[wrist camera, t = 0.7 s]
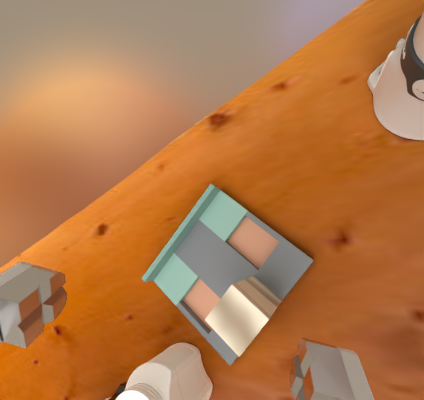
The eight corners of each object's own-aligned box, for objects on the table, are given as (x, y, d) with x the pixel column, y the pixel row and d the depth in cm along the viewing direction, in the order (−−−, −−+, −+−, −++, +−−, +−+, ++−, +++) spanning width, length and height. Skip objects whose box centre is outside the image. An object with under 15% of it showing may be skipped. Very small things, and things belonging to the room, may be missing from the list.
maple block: (253, 275, 45) (231, 284, 33) (281, 300, 43) (269, 319, 31) (233, 302, 45) (204, 319, 34) (260, 328, 43) (239, 357, 31)
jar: (154, 353, 51) (96, 390, 38) (193, 334, 49) (146, 366, 35) (176, 418, 47) (119, 485, 34) (219, 401, 45) (177, 466, 31)
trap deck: (220, 189, 53) (210, 183, 48) (313, 260, 44) (313, 261, 39) (155, 276, 54) (141, 278, 50) (233, 361, 45) (224, 373, 41)
